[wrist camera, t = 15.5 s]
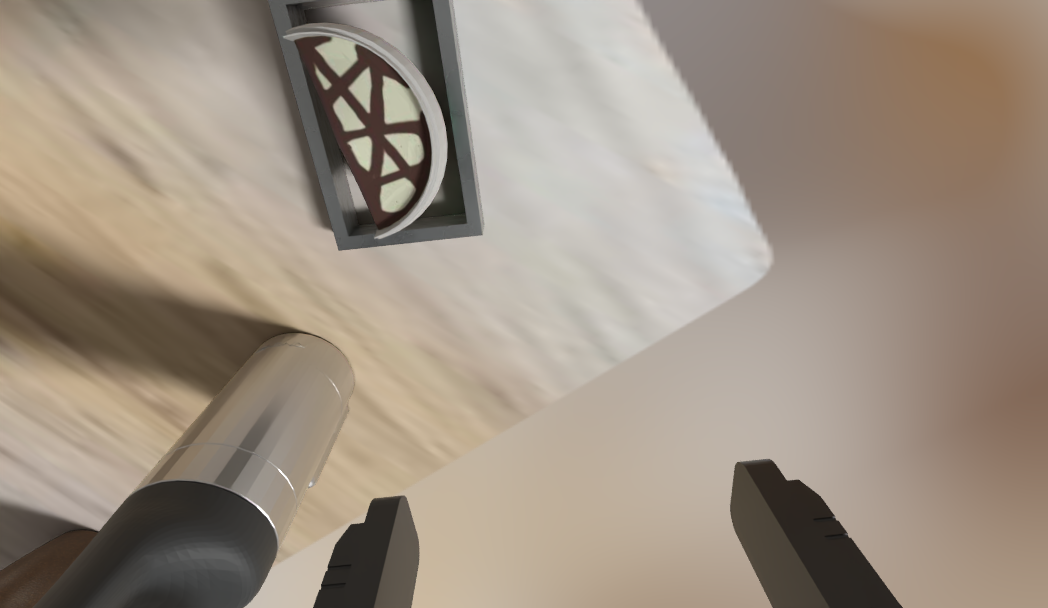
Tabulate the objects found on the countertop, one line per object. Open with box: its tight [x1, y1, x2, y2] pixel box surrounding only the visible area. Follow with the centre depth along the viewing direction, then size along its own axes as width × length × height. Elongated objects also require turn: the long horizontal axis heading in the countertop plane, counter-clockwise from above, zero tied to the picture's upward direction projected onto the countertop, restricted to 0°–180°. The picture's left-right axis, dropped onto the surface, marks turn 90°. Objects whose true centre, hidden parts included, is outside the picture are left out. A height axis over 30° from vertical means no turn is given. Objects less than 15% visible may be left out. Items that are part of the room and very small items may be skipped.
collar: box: [268, 0, 484, 251], centre depth 35 cm, size 17×11×3 cm, turn 6°
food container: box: [283, 23, 447, 239], centre depth 31 cm, size 12×6×10 cm, turn 16°
